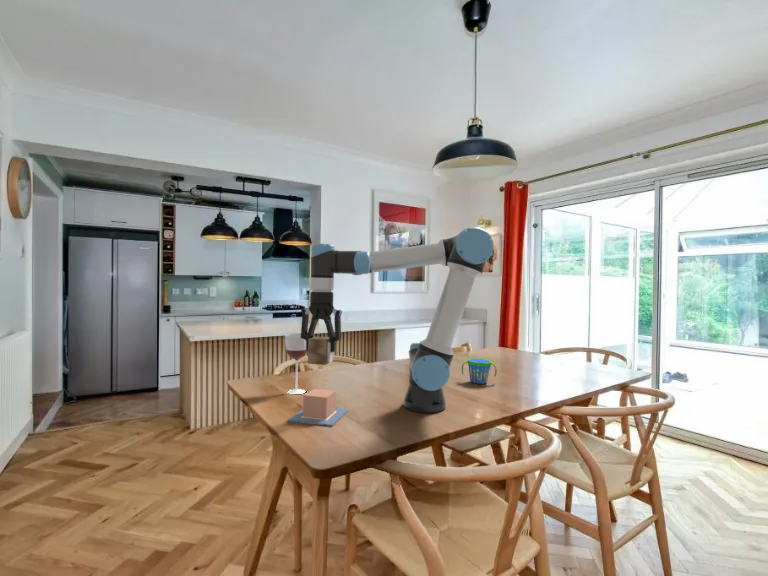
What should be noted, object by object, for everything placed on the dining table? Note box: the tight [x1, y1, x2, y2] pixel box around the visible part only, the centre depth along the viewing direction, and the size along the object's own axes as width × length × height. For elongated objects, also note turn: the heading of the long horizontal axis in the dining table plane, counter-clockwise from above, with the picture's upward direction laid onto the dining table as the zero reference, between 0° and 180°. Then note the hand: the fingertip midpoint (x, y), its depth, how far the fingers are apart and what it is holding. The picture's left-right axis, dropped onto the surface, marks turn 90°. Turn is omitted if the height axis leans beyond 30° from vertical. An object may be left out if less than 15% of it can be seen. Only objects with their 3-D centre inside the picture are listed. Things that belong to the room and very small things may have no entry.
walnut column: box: [307, 336, 330, 366], centre depth 127 cm, size 6×6×8 cm
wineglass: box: [284, 332, 308, 395], centre depth 154 cm, size 9×10×23 cm
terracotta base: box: [302, 388, 337, 419], centre depth 127 cm, size 8×8×7 cm
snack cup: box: [461, 357, 498, 385], centre depth 176 cm, size 16×10×10 cm
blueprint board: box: [287, 407, 349, 427], centre depth 127 cm, size 15×15×1 cm
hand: (320, 361), depth 127 cm, fingers closed on walnut column, 6 cm apart
